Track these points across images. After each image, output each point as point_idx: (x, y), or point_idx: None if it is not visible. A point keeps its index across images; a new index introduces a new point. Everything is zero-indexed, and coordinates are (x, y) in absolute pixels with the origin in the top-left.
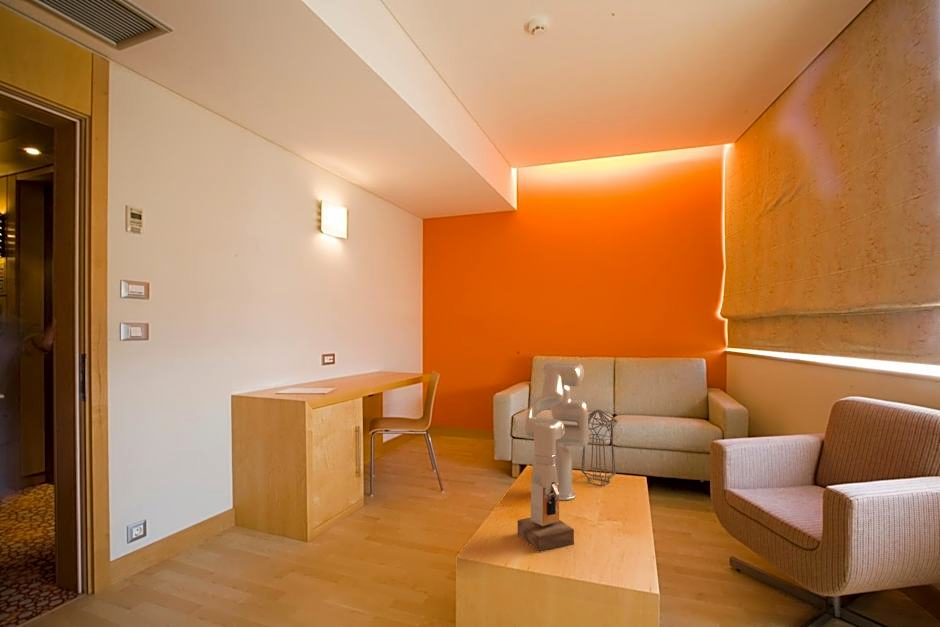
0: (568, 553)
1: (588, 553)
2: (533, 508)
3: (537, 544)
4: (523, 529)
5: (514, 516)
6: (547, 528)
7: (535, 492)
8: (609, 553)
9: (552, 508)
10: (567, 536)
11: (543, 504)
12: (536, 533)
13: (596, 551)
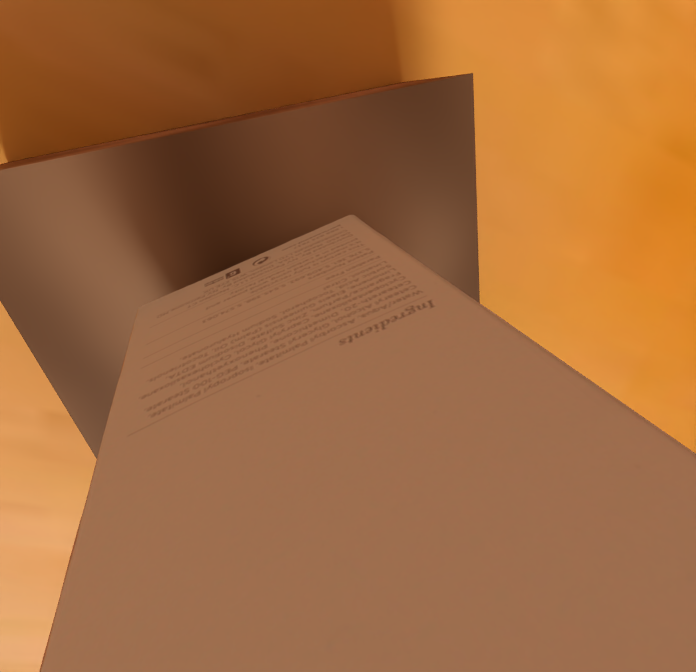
0: (5, 407)
1: (16, 527)
2: (346, 291)
3: (18, 162)
4: (322, 101)
5: (668, 179)
6: None
7: (457, 638)
8: (24, 626)
9: None
10: None
11: (84, 551)
12: (49, 183)
13: (51, 571)
